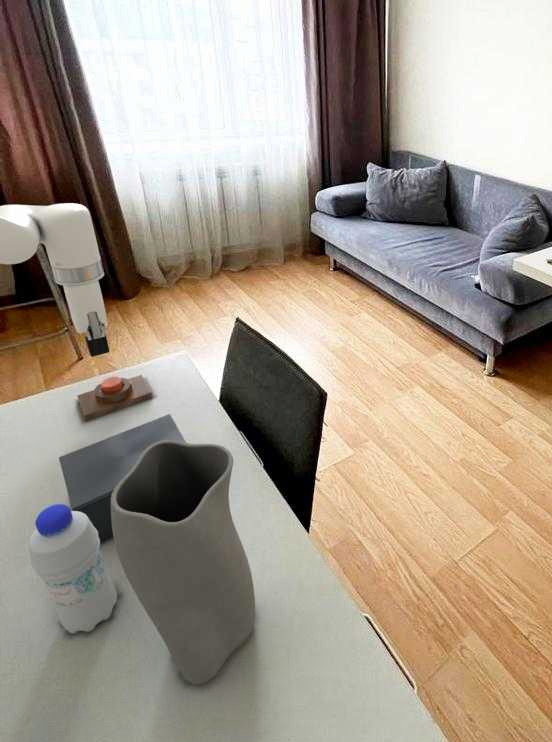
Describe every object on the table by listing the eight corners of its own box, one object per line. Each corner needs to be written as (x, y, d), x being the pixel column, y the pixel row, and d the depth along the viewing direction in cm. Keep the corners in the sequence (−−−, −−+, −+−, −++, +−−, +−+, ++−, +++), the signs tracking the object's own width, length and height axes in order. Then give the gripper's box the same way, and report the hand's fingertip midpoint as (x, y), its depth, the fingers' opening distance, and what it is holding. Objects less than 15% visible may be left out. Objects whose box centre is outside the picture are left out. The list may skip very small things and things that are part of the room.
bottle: (49, 632, 65) (-1, 528, 56) (93, 584, 71) (55, 483, 62) (91, 647, 64) (47, 543, 55) (133, 597, 70) (99, 496, 61)
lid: (170, 417, 90) (170, 413, 89) (193, 457, 81) (192, 454, 81) (60, 460, 79) (58, 457, 79) (73, 512, 71) (71, 508, 71)
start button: (104, 396, 102) (102, 389, 101) (101, 387, 104) (99, 380, 103) (124, 389, 104) (123, 382, 103) (120, 381, 106) (119, 374, 105)
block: (86, 424, 99) (81, 408, 97) (79, 403, 104) (74, 388, 103) (153, 400, 107) (149, 385, 105) (143, 382, 112) (139, 367, 110)
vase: (217, 715, 58) (173, 545, 45) (136, 675, 61) (73, 505, 48) (280, 614, 69) (259, 453, 56) (208, 584, 72) (172, 425, 59)
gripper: (47, 261, 95) (71, 342, 102) (59, 289, 85) (84, 377, 92) (94, 253, 99) (113, 331, 107) (110, 280, 90) (130, 363, 97)
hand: (99, 352), depth 100 cm, fingers closed
